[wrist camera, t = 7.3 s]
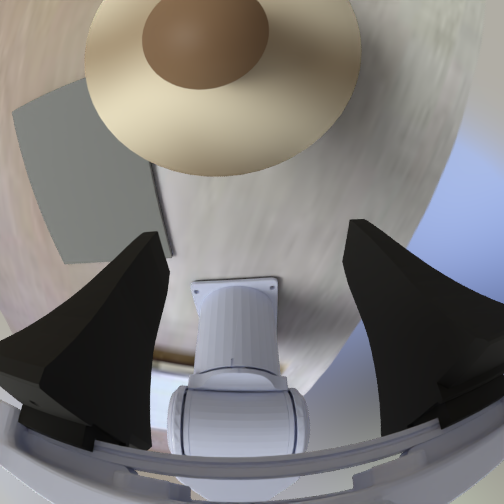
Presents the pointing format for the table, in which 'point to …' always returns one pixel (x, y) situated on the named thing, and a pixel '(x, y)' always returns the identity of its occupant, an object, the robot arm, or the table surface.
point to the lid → (221, 78)
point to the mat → (86, 178)
